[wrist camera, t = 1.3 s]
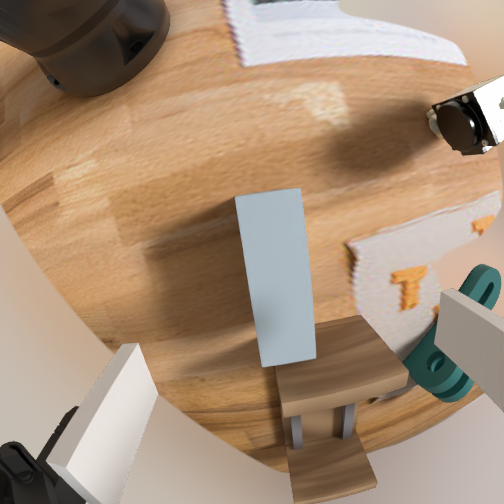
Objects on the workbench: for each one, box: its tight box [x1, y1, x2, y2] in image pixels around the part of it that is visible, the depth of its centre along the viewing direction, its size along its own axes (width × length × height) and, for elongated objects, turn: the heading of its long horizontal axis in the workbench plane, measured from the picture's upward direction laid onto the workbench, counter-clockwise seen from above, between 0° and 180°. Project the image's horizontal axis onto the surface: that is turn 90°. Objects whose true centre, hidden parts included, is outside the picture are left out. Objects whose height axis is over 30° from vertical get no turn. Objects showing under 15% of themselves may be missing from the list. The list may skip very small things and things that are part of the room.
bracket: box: [403, 264, 501, 403], centre depth 26 cm, size 18×7×8 cm, turn 142°
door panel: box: [235, 188, 316, 367], centre depth 22 cm, size 12×4×9 cm, turn 8°
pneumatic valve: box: [426, 75, 504, 156], centre depth 18 cm, size 6×12×12 cm, turn 122°
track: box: [274, 315, 409, 504], centre depth 25 cm, size 20×10×11 cm, turn 8°
